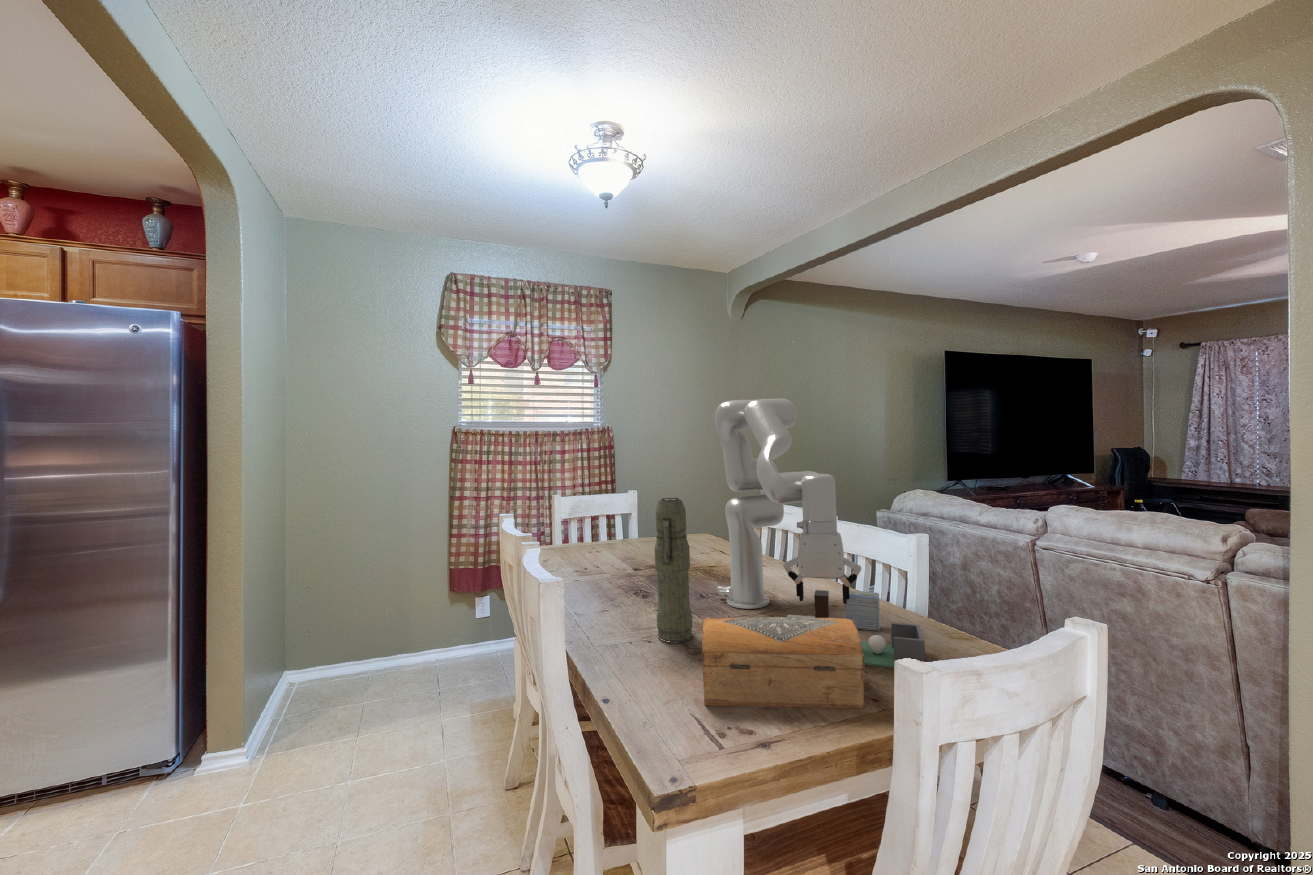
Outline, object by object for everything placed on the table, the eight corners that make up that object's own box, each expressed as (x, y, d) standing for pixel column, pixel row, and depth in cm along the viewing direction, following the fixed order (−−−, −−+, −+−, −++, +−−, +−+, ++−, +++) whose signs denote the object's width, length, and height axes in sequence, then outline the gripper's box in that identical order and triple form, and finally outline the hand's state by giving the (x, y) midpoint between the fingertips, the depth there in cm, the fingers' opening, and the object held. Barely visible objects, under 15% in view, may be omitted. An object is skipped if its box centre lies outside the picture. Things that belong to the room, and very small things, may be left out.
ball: (868, 655, 124) (867, 638, 124) (867, 648, 128) (867, 631, 128) (887, 657, 123) (886, 639, 122) (886, 650, 126) (885, 633, 126)
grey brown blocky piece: (787, 645, 130) (785, 593, 129) (789, 638, 134) (787, 587, 133) (854, 652, 125) (852, 598, 124) (854, 644, 129) (852, 592, 128)
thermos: (694, 627, 145) (689, 495, 144) (690, 646, 134) (685, 502, 133) (661, 627, 147) (656, 496, 146) (654, 645, 135) (648, 502, 134)
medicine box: (880, 625, 142) (879, 592, 142) (879, 631, 138) (878, 597, 138) (848, 622, 146) (847, 589, 145) (846, 628, 142) (845, 594, 141)
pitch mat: (850, 663, 121) (850, 661, 121) (850, 642, 133) (850, 640, 133) (920, 670, 117) (920, 668, 117) (914, 648, 128) (914, 646, 128)
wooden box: (847, 671, 118) (845, 607, 118) (866, 711, 102) (864, 637, 101) (706, 668, 122) (704, 606, 121) (703, 707, 105) (700, 635, 105)
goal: (894, 665, 119) (893, 638, 119) (891, 647, 128) (890, 622, 128) (925, 668, 117) (924, 640, 117) (920, 650, 126) (919, 624, 126)
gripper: (780, 529, 128) (783, 603, 128) (859, 531, 122) (862, 608, 122) (783, 524, 135) (786, 594, 135) (859, 525, 129) (862, 598, 129)
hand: (823, 600), depth 128 cm, fingers open, 9 cm apart
